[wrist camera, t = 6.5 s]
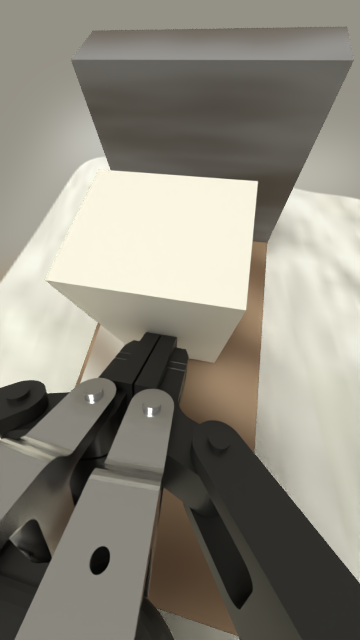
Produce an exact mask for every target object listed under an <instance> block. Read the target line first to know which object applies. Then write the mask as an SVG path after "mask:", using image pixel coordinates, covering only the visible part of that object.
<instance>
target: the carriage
mask: <svg viewBox="0 0 360 640" xmlns="http://www.w3.org/2000/svg"><path fill="white" fill-rule="evenodd" d="M257 186H258V181H248V180H234V179H221V178H207V177H194V176H180V175H167V174H153V173H140V172H126V171H112V170H98V172H97V174H96V176H95V178H94V180H93V182H92V184H91V186H90V188H89V190H88V192H87V194H86V196H85V198H84V200H83V202H82V204H81V207H80V209H79V211H78V213H77V215H76V217H75V219H74V221H73V223H72V225H71V227H70V229H69V231H68V233H67V235H66V237H65V239H64V241H63V243H62V245H61V248H60V250H59V252H58V254H57V256H56V258H55V260H54V262H53V264H52V266H51V268H50V270H49V272H48V274H47V276H46V278H45V281H46V282H48V283H49V284H50V285H51V286H53V287H54V288H55V289H57V290H58V291H59V292H60V293H62V294H63V295H64V296H65V297H67V298H68V299H69V300H70V301H72V302H73V303H74V304H75V305H77V306H78V307H79V308H80V309H82V310H83V311H84V312H85V313H87V314H88V315H89V316H90V317H92V318H93V319H94V320H95V321H97V322H98V323H99V324H100V325H102V326H103V327H104V328H105V329H107V330H108V331H109V332H110V333H112V334H113V335H114V336H115V337H117V338H118V339H119V340H121V341H122V342H123V343H124V344H128V343H129V342H131V341H133V340H136V341H140V340H141V338H142V337H143V335H144V334H145V333H146V332H150V333H155V334H161V335H168V336H173V337H177V348H182V349H186V351H187V353H188V356H189V359H195V360H200V361H206V362H211V363H215V361H216V359H217V358H218V356H219V354H220V353H221V351H222V349H223V348H224V346H225V345H226V343H227V341H228V340H229V338H230V336H231V335H232V333H233V331H234V330H235V328H236V326H237V325H238V323H239V321H240V320H241V318H242V316H243V315H244V313H245V311H246V306H247V295H248V284H249V273H250V262H251V251H252V240H253V229H254V218H255V208H256V197H257Z"/></svg>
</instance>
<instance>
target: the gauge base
mask: <svg viewBox="0 0 360 640" xmlns="http://www.w3.org/2000/svg"><path fill="white" fill-rule="evenodd" d="M71 61H72V64H73V67H74V69H75V72H76V75H77V78H78V80H79V83H80V86H81V89H82V92H83V94H84V97H85V100H86V102H87V105H88V108H89V111H90V114H91V116H92V119H93V122H94V125H95V128H96V130H97V133H98V136H99V139H100V142H101V144H102V147H103V150H104V153H105V155H106V158H107V161H108V164H109V167H110V169H111V170H112V171H126V172H140V173H153V174H167V175H180V176H194V177H207V178H221V179H234V180H248V181H258V186H257V197H256V208H255V218H254V229H253V240H252V251H251V262H250V273H249V284H248V295H247V306H246V311H245V313H244V315H243V316H242V318H241V320H240V321H239V323H238V325H237V326H236V328H235V330H234V331H233V333H232V335H231V336H230V338H229V340H228V341H227V343H226V345H225V346H224V348H223V349H222V351H221V353H220V354H219V356H218V358H217V359H216V361H215V363H211V362H206V361H200V360H195V359H189V358H188V366H187V373H186V381H185V386H184V390H183V395H182V399H181V403H180V409H181V410H182V412H183V413H184V414H185V415H186V416H187V417H188V418H190V419H192V420H193V421H195V422H197V423H199V424H201V423H202V422H205V421H209V420H216V421H221V422H224V423H226V424H228V425H229V426H231V427H232V428H233V429H234V430H235V431H236V432H237V433H238V434H239V435H240V437H241V438H242V439H243V440H244V441H245V443H246V444H247V445H248V446H249V448H250V449H251V450H252V451H253V453H254V448H255V431H256V415H257V399H258V382H259V366H260V349H261V333H262V317H263V300H264V284H265V268H266V251H267V242H268V240H269V238H270V235H271V233H272V231H273V229H274V227H275V225H276V223H277V221H278V219H279V217H280V214H281V212H282V210H283V208H284V206H285V204H286V202H287V200H288V198H289V195H290V193H291V191H292V189H293V187H294V185H295V183H296V181H297V178H298V177H299V174H300V172H301V170H302V168H303V166H304V164H305V162H306V160H307V158H308V155H309V153H310V151H311V149H312V147H313V145H314V143H315V140H316V139H317V137H318V134H319V132H320V130H321V128H322V126H323V124H324V122H325V120H326V117H327V115H328V113H329V111H330V109H331V107H332V105H333V103H334V101H335V99H336V96H337V94H338V92H339V90H340V88H341V86H342V84H343V82H344V80H345V78H346V75H347V73H348V71H349V69H350V67H351V65H352V62H353V61H354V59H353V54H352V49H351V44H350V39H349V34H348V29H347V27H302V28H301V27H298V28H241V29H239V28H235V29H175V30H174V29H173V30H115V31H114V30H111V31H92V33H91V34H90V35H89V37H88V38H87V39H86V40H85V42H84V43H83V44H82V46H81V47H80V49H79V50H78V51H77V52H76V54H75V55H74V56H73V58H72V59H71ZM125 345H126V344H124V343H123V342H122V341H121V340H119V339H118V338H117V337H115V336H114V335H113V334H112V333H110V332H109V331H108V330H107V329H105V328H104V327H103V326H102V325H100V324H99V323H98V324H97V327H96V330H95V333H94V336H93V338H92V341H91V344H90V347H89V350H88V352H87V355H86V358H85V361H84V364H83V367H82V369H81V372H80V375H79V378H78V381H77V383H76V386H77V385H79V384H80V383H82V382H84V381H86V380H89V379H93V378H98V377H99V376H100V375H101V373H102V372H103V371H104V370H105V369H106V367H107V366H108V365H109V364H110V363H111V361H112V360H113V359H114V358H115V357H116V355H117V354H118V353H120V350H121V349H122V348H123V347H124V346H125ZM76 386H75V387H76ZM148 599H149V600H150V602H151V603H152V604H153V605H154V607H155V608H158V609H161V610H164V611H167V612H170V613H173V614H176V615H179V616H181V617H184V618H187V619H190V620H193V621H196V622H199V623H202V624H205V625H208V626H210V627H213V628H216V629H219V630H222V631H225V632H228V633H231V634H234V635H237V636H238V634H237V632H236V629H235V627H234V625H233V622H232V620H231V618H230V615H229V613H228V610H227V608H226V606H225V603H224V601H223V599H222V596H221V594H220V592H219V589H218V587H217V585H216V582H215V580H214V577H213V575H212V573H211V570H210V568H209V566H208V563H207V561H206V559H205V556H204V554H203V551H202V549H201V547H200V544H199V542H198V540H197V537H196V535H195V533H194V530H193V528H192V526H191V523H190V521H189V518H188V516H187V514H186V511H185V509H184V506H183V502H182V501H181V500H180V499H178V498H177V497H176V496H174V495H173V494H172V493H170V492H169V491H168V490H166V489H165V488H164V493H163V499H162V506H161V512H160V519H159V526H158V533H157V540H156V547H155V555H154V562H153V569H152V576H151V582H150V589H149V596H148Z"/></svg>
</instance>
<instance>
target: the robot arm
mask: <svg viewBox="0 0 360 640" xmlns="http://www.w3.org/2000/svg"><path fill="white" fill-rule="evenodd" d="M188 358H189V356H188V353H187V351H186V349H182V348H177V337H173V336H168V335H161V334H155V333H150V332H146V333H145V334H144V335H143V337H142V338H141V340H140V341H136V340H133V341H131V342H129V343H128V344H126V345H125V346H124V347H123V348H122V349H121V350H120V353H118V354H117V355H116V357H115V358H114V359H113V360H112V361H111V363H110V364H109V365H108V366H107V367H106V369H105V370H104V371H103V372H102V373H101V375H100V376H99V377H98V378H93V379H89V380H86V381H84V382H82V383H80V384H79V385H77V386H76V387H75V388H74V389H73V390H72V391H71V392H68V393H49V394H47V392H46V388H45V385H44V384H43V383H41V382H39V381H34V380H28V381H21V382H18V383H14V384H11V385H8V386H5V387H2V388H0V438H1V440H0V640H174V639H173V636H172V634H171V632H170V630H169V628H168V626H167V625H166V623H165V621H164V620H163V618H162V616H161V615H160V613H159V612H158V610H157V609H156V608H155V607H154V605H153V604H152V603H151V602H150V600H149V599H148V596H149V589H150V582H151V576H152V569H153V562H154V555H155V547H156V540H157V533H158V526H159V519H160V512H161V506H162V499H163V493H164V488H165V489H166V490H168V491H169V492H170V493H172V494H173V495H174V496H176V497H177V498H178V499H180V500H181V501H182V502H183V506H184V509H185V511H186V514H187V516H188V518H189V521H190V523H191V526H192V528H193V530H194V533H195V535H196V537H197V540H198V542H199V544H200V547H201V549H202V551H203V554H204V556H205V559H206V561H207V563H208V566H209V568H210V570H211V573H212V575H213V577H214V580H215V582H216V585H217V587H218V589H219V592H220V594H221V596H222V599H223V601H224V603H225V606H226V608H227V610H228V613H229V615H230V618H231V620H232V622H233V625H234V627H235V629H236V632H237V634H238V636H239V639H240V640H360V583H359V582H358V581H357V579H356V578H355V577H354V576H353V574H352V573H351V572H350V571H349V570H348V568H347V567H346V566H345V565H344V563H343V562H342V561H341V560H340V558H339V557H338V556H337V555H336V554H335V552H334V551H333V550H332V549H331V547H330V546H329V545H328V544H327V542H326V541H325V540H324V539H323V538H322V536H321V535H320V534H319V533H318V531H317V530H316V529H315V528H314V526H313V525H312V524H311V523H310V522H309V520H308V519H307V518H306V517H305V515H304V514H303V513H302V512H301V510H300V509H299V508H298V507H297V505H296V504H295V503H294V502H293V501H292V499H291V498H290V497H289V496H288V494H287V493H286V492H285V491H284V489H283V488H282V487H281V486H280V485H279V483H278V482H277V481H276V480H275V478H274V477H273V476H272V475H271V473H270V472H269V471H268V470H267V469H266V467H265V466H264V465H263V464H262V462H261V461H260V460H259V459H258V457H257V456H256V455H255V454H254V453H253V451H252V450H251V449H250V448H249V446H248V445H247V444H246V443H245V441H244V440H243V439H242V438H241V437H240V435H239V434H238V433H237V432H236V431H235V430H234V429H233V428H232V427H231V426H229V425H228V424H226V423H224V422H221V421H216V420H209V421H205V422H202V423H201V424H199V423H197V422H195V421H193V420H192V419H190V418H188V417H187V416H186V415H185V414H184V413H183V412H182V410H181V409H180V403H181V399H182V395H183V390H184V386H185V381H186V373H187V366H188Z"/></svg>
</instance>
